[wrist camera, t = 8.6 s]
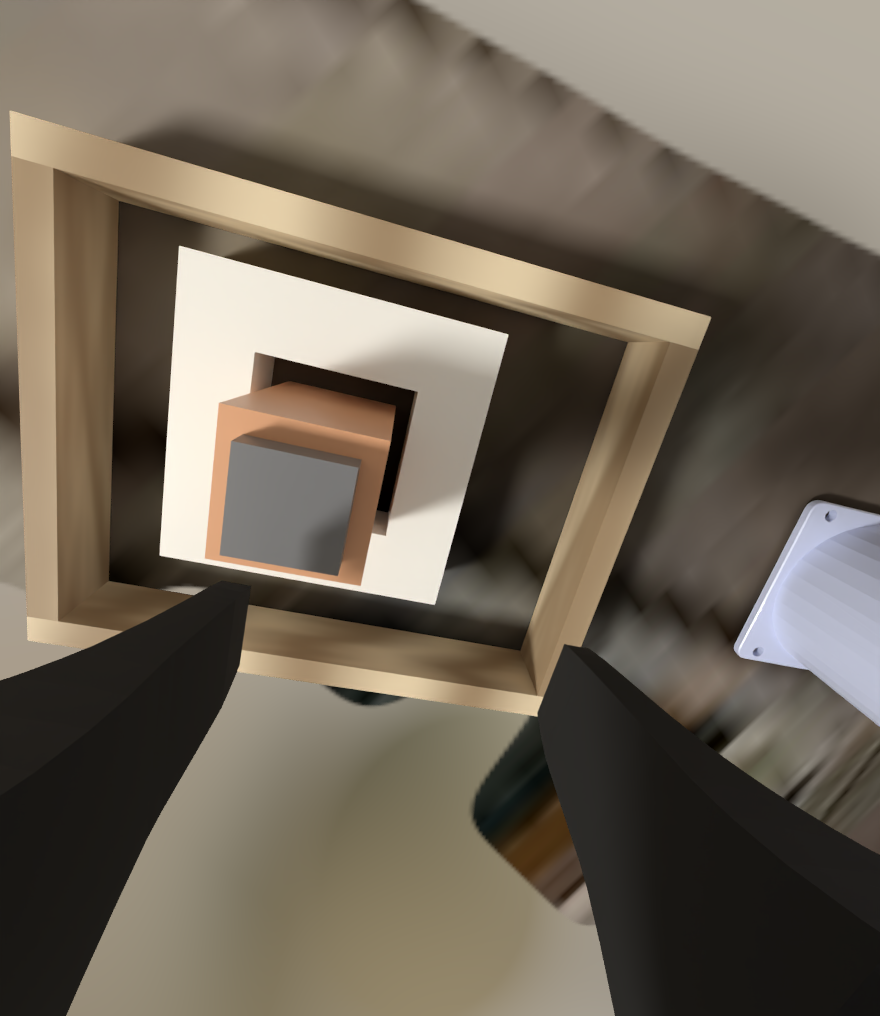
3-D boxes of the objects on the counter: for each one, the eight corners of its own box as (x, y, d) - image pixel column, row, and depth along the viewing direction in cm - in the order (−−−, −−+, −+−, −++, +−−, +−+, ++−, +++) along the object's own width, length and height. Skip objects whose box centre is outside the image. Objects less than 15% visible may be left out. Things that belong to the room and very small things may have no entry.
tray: (662, 321, 18) (711, 317, 15) (534, 671, 22) (552, 718, 20) (85, 155, 15) (9, 110, 12) (82, 597, 20) (28, 640, 17)
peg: (395, 405, 18) (389, 448, 11) (375, 502, 19) (357, 601, 12) (289, 380, 17) (204, 407, 10) (275, 482, 19) (191, 573, 11)
